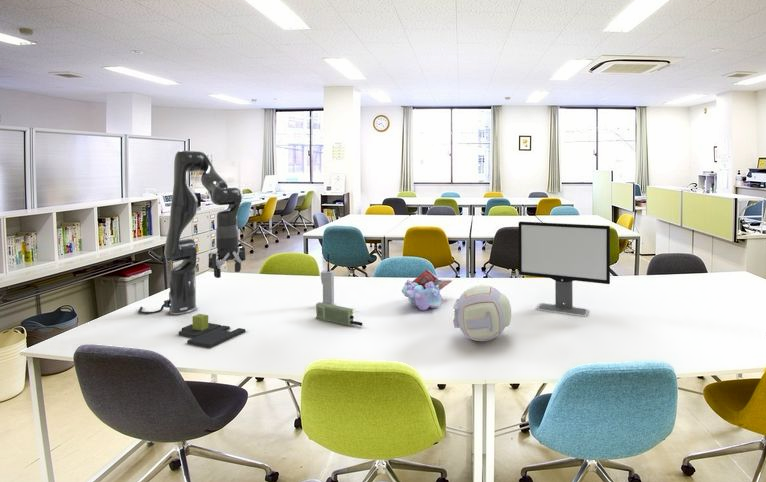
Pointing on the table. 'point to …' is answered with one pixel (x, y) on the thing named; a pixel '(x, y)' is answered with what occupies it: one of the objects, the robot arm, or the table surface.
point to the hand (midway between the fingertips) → (227, 274)
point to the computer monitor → (564, 258)
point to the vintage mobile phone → (328, 285)
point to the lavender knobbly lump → (425, 290)
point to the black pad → (196, 332)
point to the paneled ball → (482, 313)
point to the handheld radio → (336, 314)
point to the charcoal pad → (215, 336)
